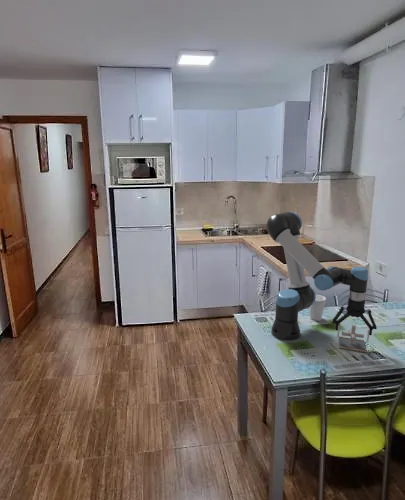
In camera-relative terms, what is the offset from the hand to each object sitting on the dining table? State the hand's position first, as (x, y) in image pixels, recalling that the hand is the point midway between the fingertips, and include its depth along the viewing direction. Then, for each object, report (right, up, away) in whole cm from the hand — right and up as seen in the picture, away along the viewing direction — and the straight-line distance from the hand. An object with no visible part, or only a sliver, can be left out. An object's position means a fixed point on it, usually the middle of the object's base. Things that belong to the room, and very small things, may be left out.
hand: (352, 338), depth 177 cm
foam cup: (-8, +4, +32) cm, 33 cm away
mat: (0, -4, +1) cm, 4 cm away
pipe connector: (0, -3, +1) cm, 3 cm away
